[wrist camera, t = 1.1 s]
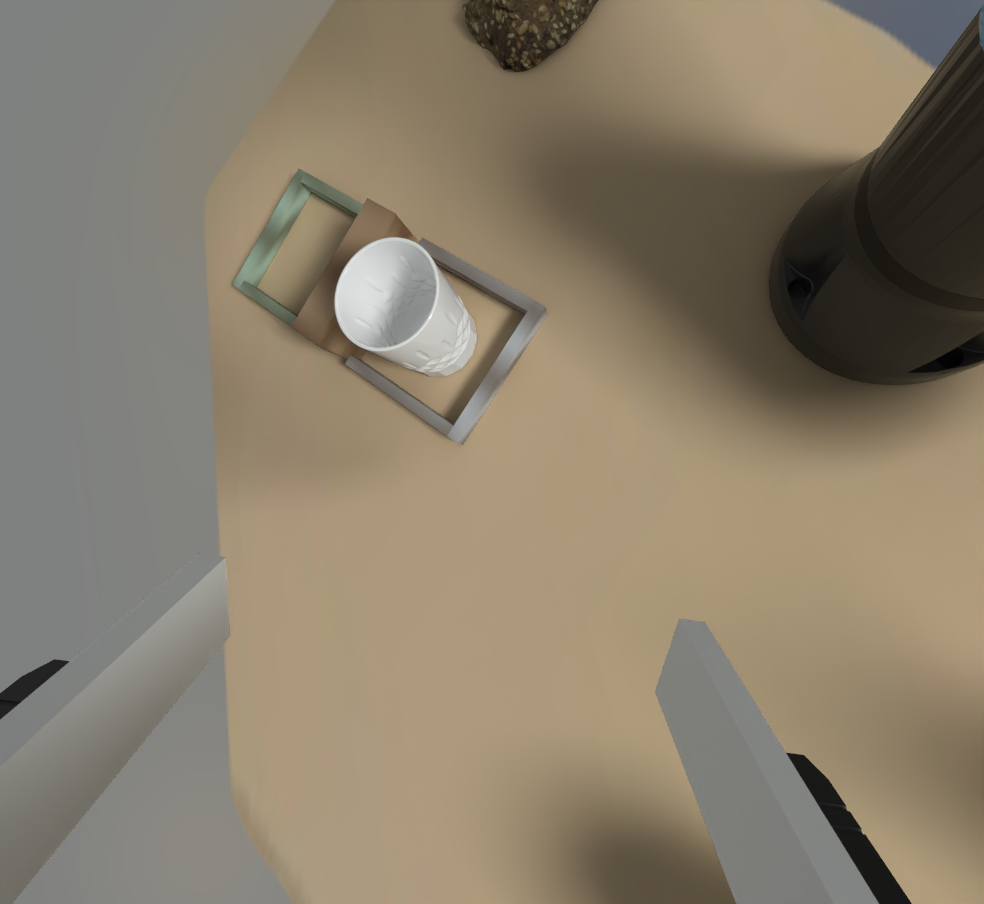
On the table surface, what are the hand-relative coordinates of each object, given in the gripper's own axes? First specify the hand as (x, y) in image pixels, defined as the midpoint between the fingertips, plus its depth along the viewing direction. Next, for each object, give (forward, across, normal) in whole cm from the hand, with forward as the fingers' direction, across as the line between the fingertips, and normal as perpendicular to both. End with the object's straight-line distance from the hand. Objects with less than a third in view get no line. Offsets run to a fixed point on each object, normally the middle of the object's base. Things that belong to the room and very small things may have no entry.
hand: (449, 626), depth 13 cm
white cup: (+30, -5, +5) cm, 31 cm away
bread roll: (+41, -1, +34) cm, 54 cm away
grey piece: (+33, -11, +7) cm, 36 cm away
